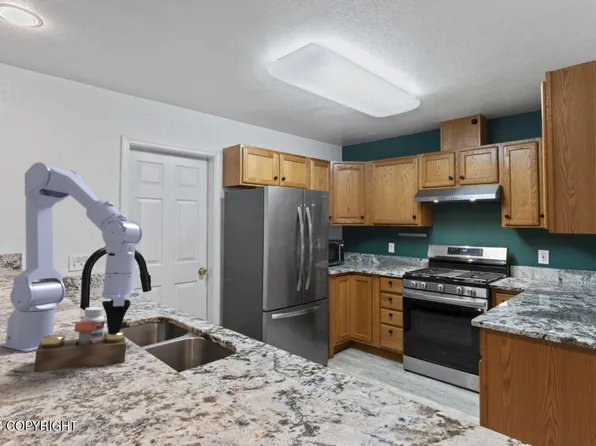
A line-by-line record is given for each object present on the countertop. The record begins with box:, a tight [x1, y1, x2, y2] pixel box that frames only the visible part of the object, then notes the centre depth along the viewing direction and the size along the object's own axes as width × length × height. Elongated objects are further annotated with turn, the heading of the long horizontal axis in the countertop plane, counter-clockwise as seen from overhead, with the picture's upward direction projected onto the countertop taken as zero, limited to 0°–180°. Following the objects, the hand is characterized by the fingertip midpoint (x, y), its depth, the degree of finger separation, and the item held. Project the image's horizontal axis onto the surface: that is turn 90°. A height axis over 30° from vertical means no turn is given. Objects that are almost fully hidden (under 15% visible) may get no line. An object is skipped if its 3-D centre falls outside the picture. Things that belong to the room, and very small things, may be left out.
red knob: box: [74, 320, 97, 345], centre depth 75 cm, size 4×4×5 cm
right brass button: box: [103, 330, 124, 343], centre depth 77 cm, size 4×4×5 cm
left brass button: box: [41, 334, 66, 348], centre depth 72 cm, size 4×4×5 cm
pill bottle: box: [80, 306, 106, 338], centre depth 87 cm, size 5×5×9 cm
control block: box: [33, 335, 127, 373], centre depth 74 cm, size 16×7×4 cm, turn 121°
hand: (113, 333), depth 77 cm, fingers closed, pressing on right brass button
